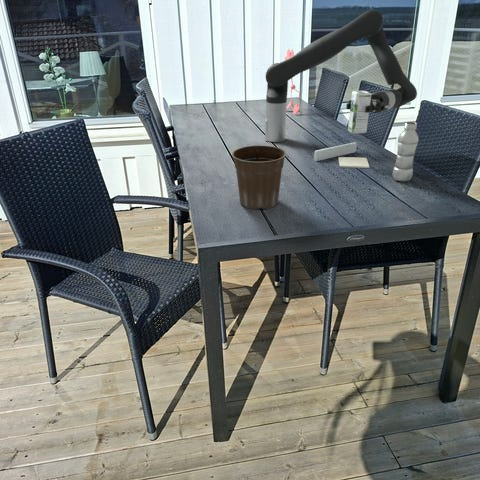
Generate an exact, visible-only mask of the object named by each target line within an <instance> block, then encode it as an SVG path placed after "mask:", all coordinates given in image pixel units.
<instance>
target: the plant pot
mask: <svg viewBox="0 0 480 480" xmlns="http://www.w3.org/2000/svg"><path fill="white" fill-rule="evenodd" d="M231 157H232V158H233V163H234V168H235V170H236V171H235V172H236V177H237V179H236V181H237V187H238V194H239V195H238V197H239V203H240V205H241V206H243V207H245V208H247V209H249V210H250V209H251V210H260V209H263V210H268V209H271V208H273V207H276V205H278V203H279V195H280V188H281V177H282V173H283V172H282V170H283V168H284V164H285V158H286V157H287V152H286V151H285V150H284V149H283V148H280V147H278V146H277V147H276V146H272V145H271V146H270V145H262V144H261V145H259V144H257V145H248V146H243V147H239V148H236V149H235V150H233V151H232V153H231Z"/></svg>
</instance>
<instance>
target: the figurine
mask: <svg viewBox="0 0 480 480" xmlns="http://www.w3.org/2000/svg"><path fill="white" fill-rule="evenodd" d="M293 56H294V49H293V48H292V49H291V50H290V49H289V48H287V51H286V56H285V57H284V61H285V60H287V59H289V58H291V57H293ZM303 72H304V71H303ZM303 72H301V73H300V74H303ZM290 80H291V85H290V96H292V90H294V91H295V92H297V93H298V98H297V102H296V104H295V105H294V103H293V100H290V102H289V103H288V105H287V106H286V111H287V110H289V108H290V107H291V106H292V108H290V110H291V109H292V112H293V113H292V114H294V115H293V116H295V115H296V114H297V113H298V112H299V114H300V115H302V111H301V109H300V104H299V99H300V96H301V93H300V91H298V90H297V89H296V85H295V84H293V82H294V81H293V78H291V79H290ZM286 118H288V116H287V115H286Z"/></svg>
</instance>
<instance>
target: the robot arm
mask: <svg viewBox="0 0 480 480" xmlns="http://www.w3.org/2000/svg"><path fill="white" fill-rule="evenodd" d="M383 23H384V18H383V14H382V13H381V12H380V11H379V10H376V9H369V10H368V9H367V10H366V11H365V12H363V13H361V14H360V15H359V16H358V17H356V18H354V19H353V20H352V21H350V22H349V23H347V24H345V25H343V26H342V27H340V28H337V29H335V30H332V31H331V32H329V33H328V34H327V33H326V35H324V36H322V37H319V38H318V39H316V40H314V41H313V42H310V43H309V44H308V45H306V46H305V47H303V48H302V49H301V50H300V51H298V52H297V53H295V55H294V56H293V57H291V58H289V59H287V60H285V59H284V60H283V61H281V62H276V63H273V64H271V65H270V66H269V67H268V68H267V70H266V72H265V80H266V83H267V86H266V87H267V88H266V97H265V98H266V100H265V111H266V112H265V123H264V124H265V130H264V131H265V133H264V141H265V142H270V143H271V142H272V143H273V142H274V143H276V142H277V143H280V142H284V141H286V129H287V128H286V127H287V117H286V116H287V110H286V107H287V106H288V105H287V103H288V88H289V81H290V80H291V78H292V79H293V78H294V77H295V76H296V77H297V76H298V75H299V74H302V73H301V72H306V71H308V70H310V69H313V68H315V67H317V66H319V65H321V64H323V63H325V62H327V61H329V60H331V59H332V58H334V57H336V56H337V55H338V54H340V53H341V52H343V50H345V49H346V48H348V47H349V46H350V45H352V44H353V43H355V42H357V41H359V40H362V39H364V38H365V40H366V41H367V43H368V44H369V45H370V47H371V49H372V51H373V53H374V55H375V58H376V61H377V63H378V66H379V68H380V70H381V73H382V75H383V77H384V79H385V82H386V84H388V85H389V86H393V85H399V86H400V87H399V88H397V89H389V90H381V91H377V92H373V93H371V101H370V105H369V106H366V108H365V112H366V113H368V112H369V113H373V114H377V113H381V112H385V111H388V110H390V109H397V108H400V107H402V106H404V105H407V104H409V103H411V102H413V101H414V100H416V98H417V96H418V91H417V89H416V87H415V85H414V84H413V83H412V82H411V81H410V80H409V78H408V76H407V75H406V74H405V73H404V71H403V69H402V67H401V64H400V63H399V60H398V59H397V57H396V54H395V53H394V51H393V49H392V48H391V46H390V44H389V42H388V40H387V38H386V37H387V36H386V33H385V30H384V27H383V26H384V25H383ZM350 105H351V99H349V100H348V103H346V107H345V108H346V110H350Z"/></svg>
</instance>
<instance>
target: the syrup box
mask: <svg viewBox="0 0 480 480" xmlns="http://www.w3.org/2000/svg"><path fill="white" fill-rule="evenodd" d="M371 94H372V93H370V92H369V91H367V90H354V91H352V92H351V97H350V100H351V105H350V109H349V115H348V116H349V117H348V124H347V125H348V127H347V130H348V132H350V133H351V134H353V135H354V134H365V133H367V130H368V121H369V114H370V112H368V113H366V112H365V108H366V106H369V105H370V101H371Z"/></svg>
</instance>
